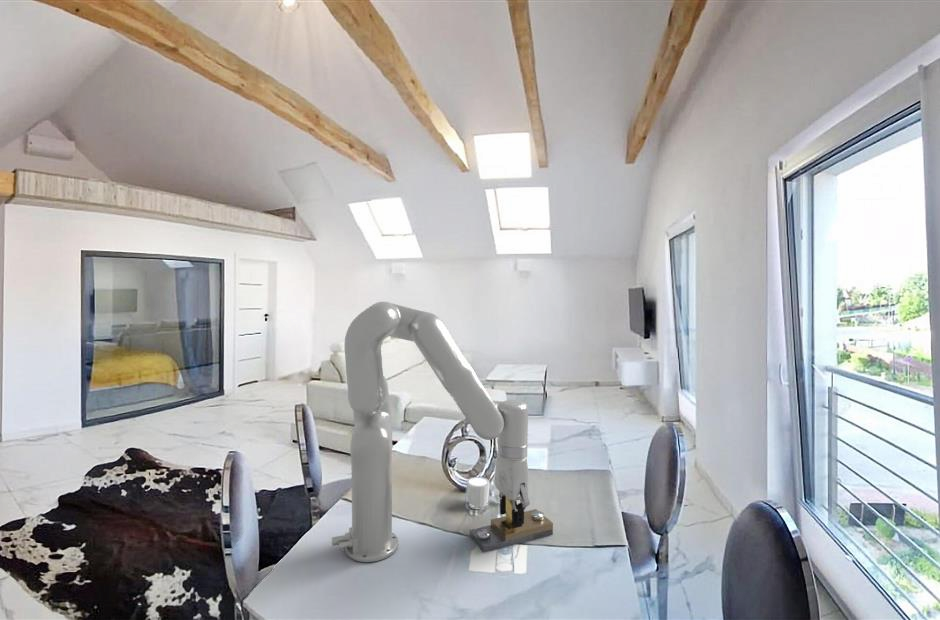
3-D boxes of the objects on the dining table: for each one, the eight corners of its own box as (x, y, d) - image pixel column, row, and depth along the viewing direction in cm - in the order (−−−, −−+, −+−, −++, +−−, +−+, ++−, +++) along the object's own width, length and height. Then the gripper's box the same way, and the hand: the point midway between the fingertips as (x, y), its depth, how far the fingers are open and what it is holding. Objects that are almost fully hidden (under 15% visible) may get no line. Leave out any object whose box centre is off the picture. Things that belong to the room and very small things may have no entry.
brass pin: (509, 539, 113) (509, 500, 112) (503, 533, 115) (503, 495, 115) (519, 536, 114) (519, 498, 114) (513, 531, 117) (513, 493, 116)
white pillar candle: (487, 511, 127) (487, 487, 126) (463, 509, 128) (464, 485, 128) (491, 500, 133) (491, 477, 133) (468, 498, 135) (469, 475, 134)
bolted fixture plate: (483, 552, 107) (483, 536, 107) (469, 535, 114) (469, 520, 114) (552, 534, 115) (553, 519, 115) (535, 519, 123) (536, 505, 122)
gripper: (484, 441, 120) (483, 506, 121) (517, 464, 104) (515, 539, 105) (508, 437, 123) (508, 501, 124) (543, 459, 107) (542, 532, 108)
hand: (511, 518), depth 115 cm, fingers open, 5 cm apart
